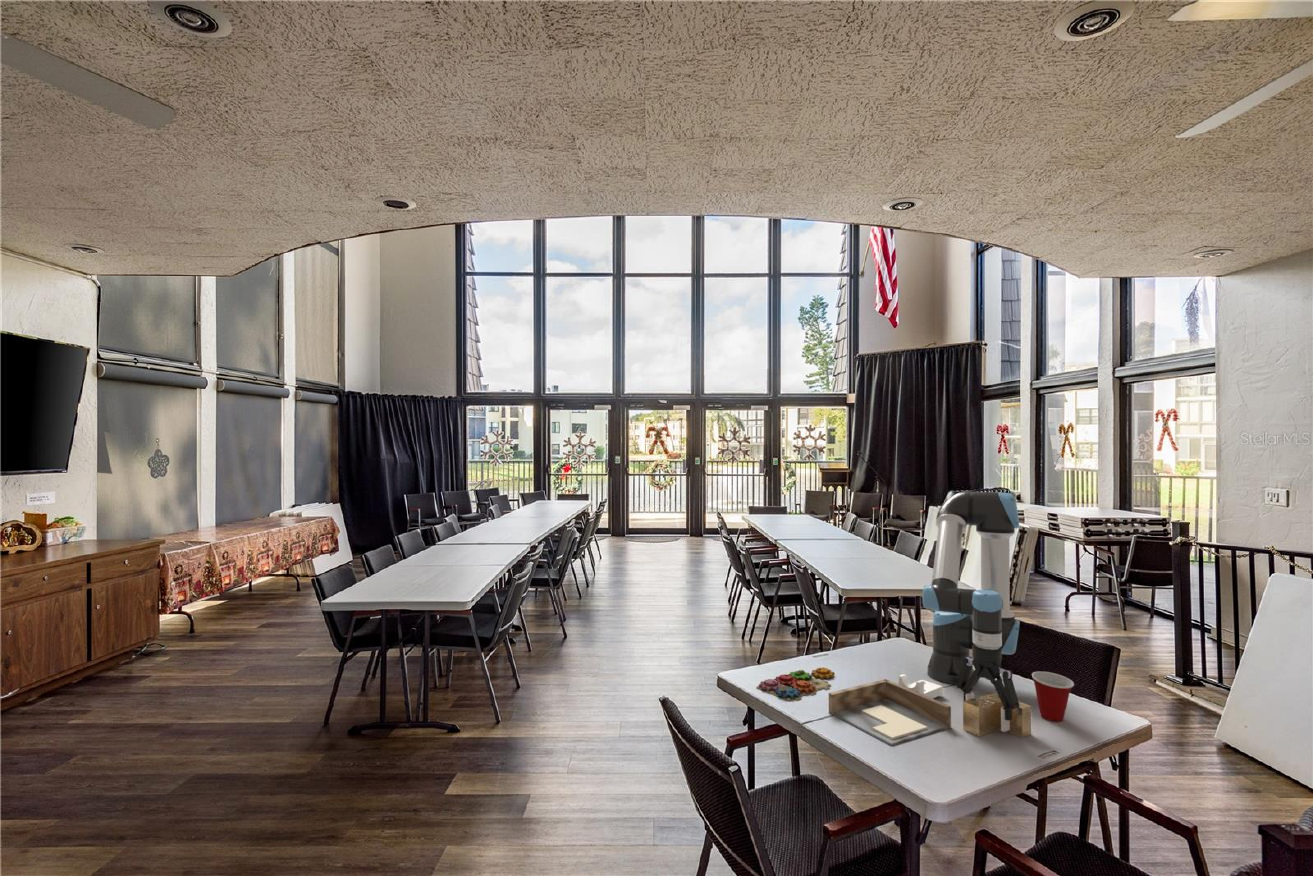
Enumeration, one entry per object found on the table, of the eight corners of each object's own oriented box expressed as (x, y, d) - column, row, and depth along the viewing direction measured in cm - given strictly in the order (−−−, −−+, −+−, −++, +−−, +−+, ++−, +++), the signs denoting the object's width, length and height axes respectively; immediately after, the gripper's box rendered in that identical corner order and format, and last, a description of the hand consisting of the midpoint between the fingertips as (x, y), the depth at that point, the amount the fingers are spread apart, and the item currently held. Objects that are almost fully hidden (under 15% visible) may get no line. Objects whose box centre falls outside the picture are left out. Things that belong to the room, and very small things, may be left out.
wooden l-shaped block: (994, 719, 191) (994, 692, 191) (1031, 734, 181) (1030, 705, 181) (963, 729, 184) (963, 701, 184) (999, 745, 175) (999, 715, 175)
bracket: (919, 707, 200) (919, 682, 200) (898, 699, 206) (898, 676, 206) (942, 697, 208) (942, 673, 208) (922, 690, 214) (922, 667, 214)
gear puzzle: (814, 669, 234) (814, 658, 234) (851, 682, 222) (851, 670, 222) (753, 689, 215) (753, 677, 215) (791, 705, 203) (791, 692, 203)
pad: (880, 707, 198) (880, 705, 198) (927, 729, 183) (927, 727, 183) (846, 716, 192) (846, 714, 192) (892, 739, 177) (892, 737, 177)
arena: (885, 698, 207) (885, 679, 207) (950, 727, 186) (950, 706, 186) (828, 712, 196) (828, 692, 196) (891, 745, 174) (891, 723, 174)
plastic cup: (1063, 729, 184) (1063, 687, 184) (1024, 716, 193) (1024, 676, 193) (1081, 720, 190) (1081, 679, 190) (1042, 707, 199) (1042, 668, 199)
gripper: (943, 636, 194) (943, 710, 194) (1017, 659, 173) (1017, 742, 173) (960, 633, 197) (960, 705, 197) (1034, 655, 177) (1034, 736, 177)
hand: (987, 722), depth 185 cm, fingers open, 10 cm apart
